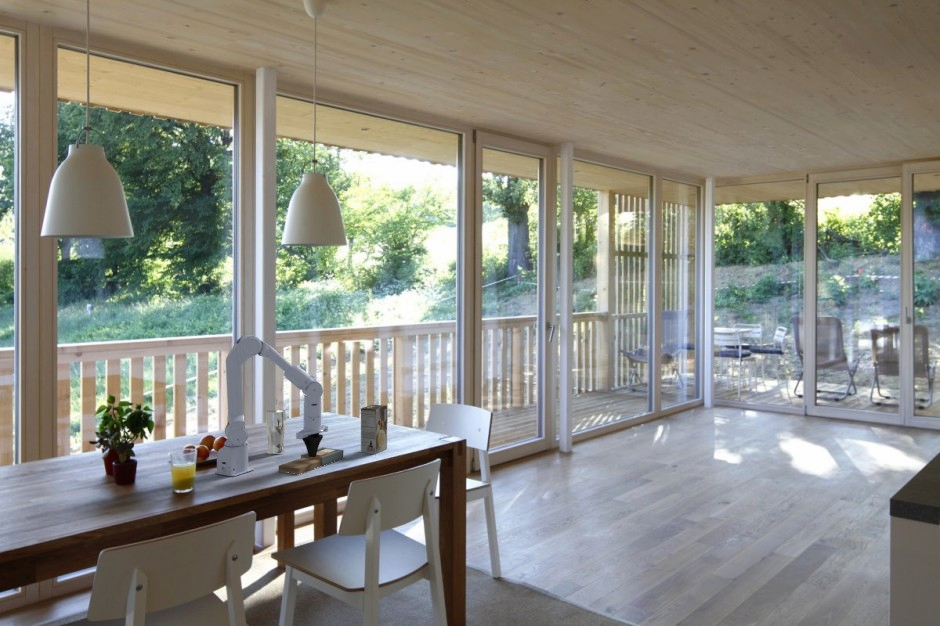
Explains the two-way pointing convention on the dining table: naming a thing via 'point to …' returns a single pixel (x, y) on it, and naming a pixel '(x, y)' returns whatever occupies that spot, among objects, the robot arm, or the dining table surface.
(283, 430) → the beer glass
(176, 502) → the dining table surface
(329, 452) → the tile cream
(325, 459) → the tray
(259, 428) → the dining table surface
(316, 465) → the board
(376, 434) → the coffee box
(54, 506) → the dining table surface
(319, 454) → the tile terracotta
